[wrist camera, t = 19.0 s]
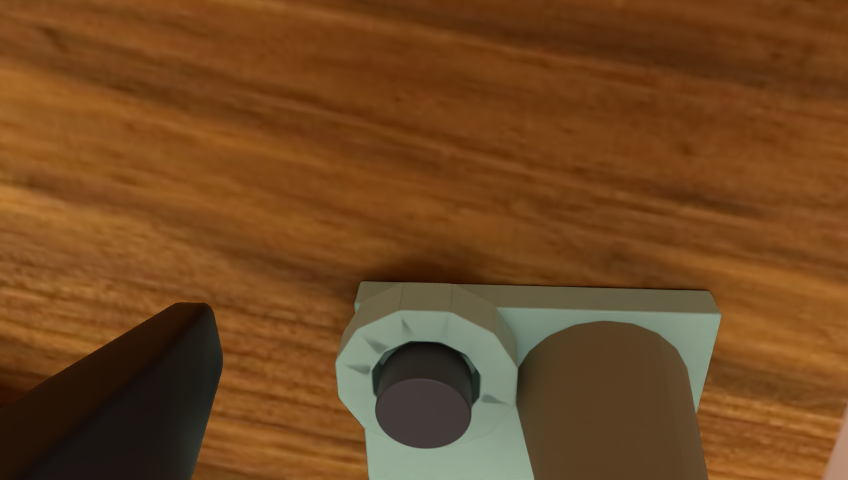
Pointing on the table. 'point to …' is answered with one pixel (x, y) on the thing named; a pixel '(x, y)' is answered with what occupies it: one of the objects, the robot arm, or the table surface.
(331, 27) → the table surface
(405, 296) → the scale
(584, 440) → the brown game pawn
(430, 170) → the table surface
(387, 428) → the dark brown cylinder
